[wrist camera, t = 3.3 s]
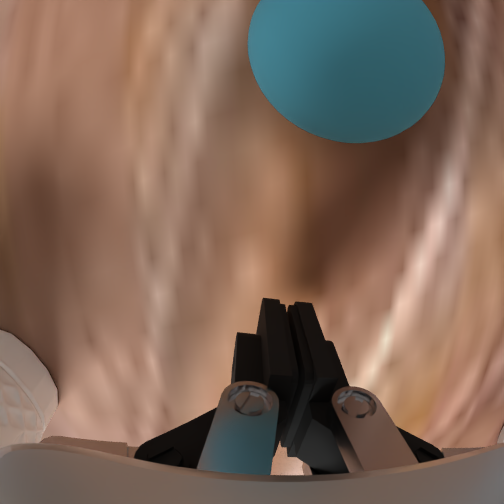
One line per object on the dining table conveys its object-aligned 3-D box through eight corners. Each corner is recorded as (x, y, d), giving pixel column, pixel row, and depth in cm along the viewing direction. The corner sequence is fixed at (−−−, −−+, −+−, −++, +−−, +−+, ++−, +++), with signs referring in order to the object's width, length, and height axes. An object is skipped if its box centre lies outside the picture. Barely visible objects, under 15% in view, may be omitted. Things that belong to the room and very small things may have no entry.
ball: (400, 28, 9) (479, -23, 4) (386, 157, 11) (475, 172, 6) (260, -6, 9) (264, -93, 4) (239, 129, 11) (224, 114, 6)
